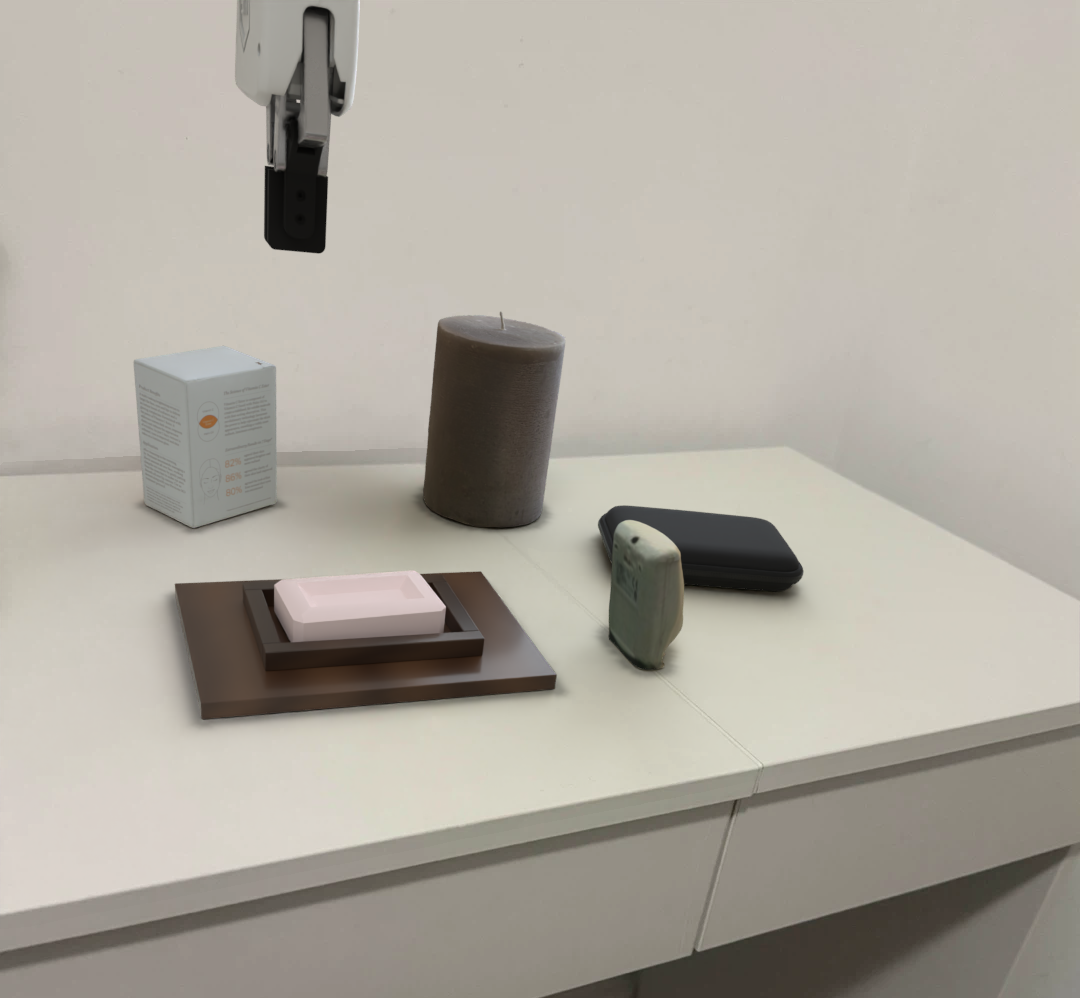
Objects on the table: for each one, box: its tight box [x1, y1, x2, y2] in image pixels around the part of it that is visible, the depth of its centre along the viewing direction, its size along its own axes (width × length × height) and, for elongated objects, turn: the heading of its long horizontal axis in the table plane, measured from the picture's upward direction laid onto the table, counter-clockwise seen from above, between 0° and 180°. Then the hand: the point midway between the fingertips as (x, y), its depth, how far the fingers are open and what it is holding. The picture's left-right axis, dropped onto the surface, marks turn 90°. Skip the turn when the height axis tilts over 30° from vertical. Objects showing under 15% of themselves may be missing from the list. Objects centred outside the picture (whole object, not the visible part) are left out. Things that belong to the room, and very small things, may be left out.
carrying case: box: [597, 505, 804, 592], centre depth 81 cm, size 11×3×15 cm
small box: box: [133, 345, 278, 529], centre depth 75 cm, size 8×6×10 cm
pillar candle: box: [422, 311, 566, 528], centre depth 82 cm, size 10×10×15 cm
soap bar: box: [274, 569, 446, 642], centre depth 63 cm, size 5×9×2 cm, turn 115°
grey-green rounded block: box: [608, 520, 685, 671], centre depth 66 cm, size 6×5×8 cm
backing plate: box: [174, 571, 558, 720], centre depth 63 cm, size 20×14×2 cm
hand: (294, 247), depth 61 cm, fingers closed
